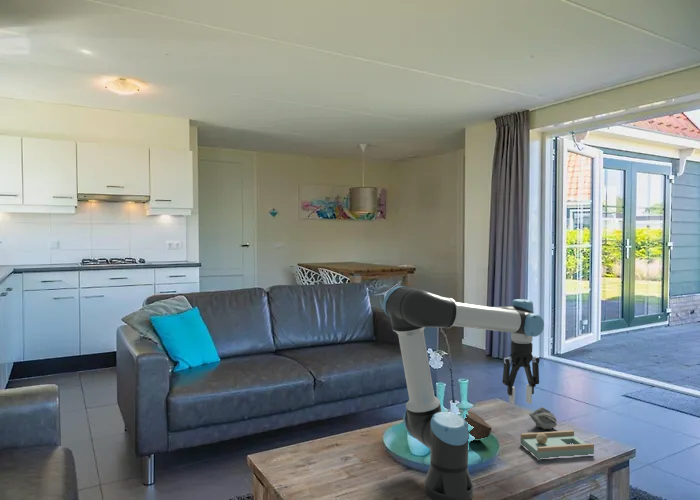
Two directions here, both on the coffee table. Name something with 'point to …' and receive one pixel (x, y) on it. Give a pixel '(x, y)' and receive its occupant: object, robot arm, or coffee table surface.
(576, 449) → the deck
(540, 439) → the ball
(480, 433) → the rock
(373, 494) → the coffee table surface
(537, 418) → the fossil
